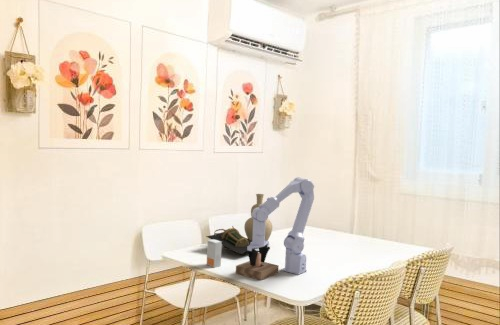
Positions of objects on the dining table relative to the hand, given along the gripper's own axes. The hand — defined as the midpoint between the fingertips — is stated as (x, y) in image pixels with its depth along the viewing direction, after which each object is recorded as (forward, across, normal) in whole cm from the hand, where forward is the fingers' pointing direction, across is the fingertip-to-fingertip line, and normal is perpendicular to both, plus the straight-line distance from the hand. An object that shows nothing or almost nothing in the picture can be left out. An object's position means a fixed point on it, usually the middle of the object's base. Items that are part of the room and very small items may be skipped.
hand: (257, 263), depth 181 cm
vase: (+5, -45, -31) cm, 55 cm away
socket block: (+4, 0, 0) cm, 4 cm away
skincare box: (+5, +5, -22) cm, 23 cm away
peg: (+4, 0, 0) cm, 4 cm away
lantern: (+5, -23, -34) cm, 41 cm away
